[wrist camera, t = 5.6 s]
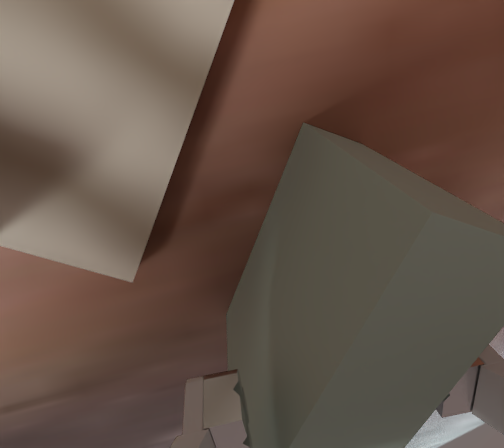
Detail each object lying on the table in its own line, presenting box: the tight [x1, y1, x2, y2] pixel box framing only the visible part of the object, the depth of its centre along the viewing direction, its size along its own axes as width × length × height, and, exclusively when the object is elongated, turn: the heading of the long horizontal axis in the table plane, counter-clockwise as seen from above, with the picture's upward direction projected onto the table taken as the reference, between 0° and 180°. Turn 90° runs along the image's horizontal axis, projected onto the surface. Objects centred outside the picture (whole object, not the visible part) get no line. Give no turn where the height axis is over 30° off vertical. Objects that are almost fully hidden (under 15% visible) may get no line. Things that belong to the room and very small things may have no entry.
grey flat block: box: [226, 122, 504, 448], centre depth 13 cm, size 3×11×10 cm, turn 160°
